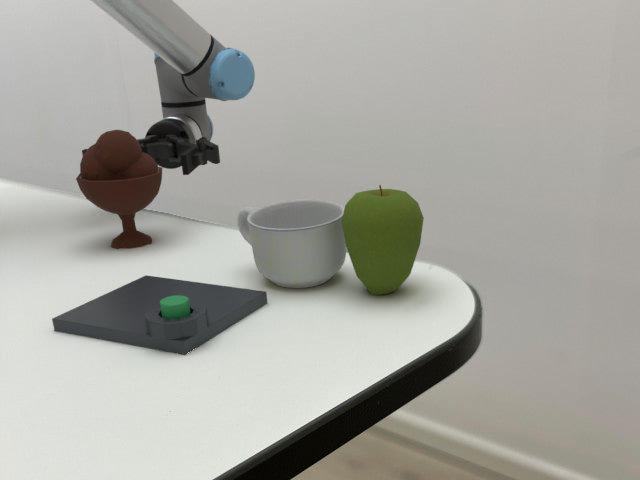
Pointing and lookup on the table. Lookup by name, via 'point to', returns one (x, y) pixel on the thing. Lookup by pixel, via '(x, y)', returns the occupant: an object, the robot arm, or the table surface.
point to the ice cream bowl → (120, 182)
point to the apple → (382, 237)
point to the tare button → (175, 307)
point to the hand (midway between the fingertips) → (135, 166)
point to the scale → (146, 318)
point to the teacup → (295, 240)
